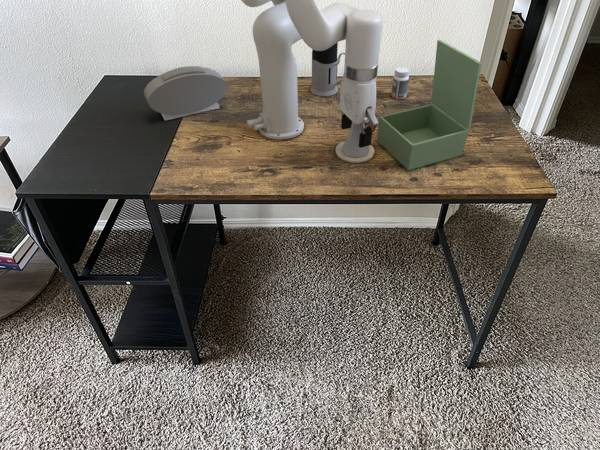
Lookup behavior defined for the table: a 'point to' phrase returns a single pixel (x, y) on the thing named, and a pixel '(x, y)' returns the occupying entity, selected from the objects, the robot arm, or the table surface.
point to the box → (421, 136)
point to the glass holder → (325, 71)
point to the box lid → (455, 83)
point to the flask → (354, 143)
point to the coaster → (351, 158)
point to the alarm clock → (185, 91)
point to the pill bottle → (400, 83)
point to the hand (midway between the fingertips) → (355, 136)
